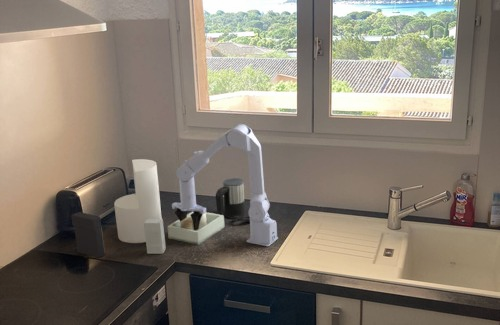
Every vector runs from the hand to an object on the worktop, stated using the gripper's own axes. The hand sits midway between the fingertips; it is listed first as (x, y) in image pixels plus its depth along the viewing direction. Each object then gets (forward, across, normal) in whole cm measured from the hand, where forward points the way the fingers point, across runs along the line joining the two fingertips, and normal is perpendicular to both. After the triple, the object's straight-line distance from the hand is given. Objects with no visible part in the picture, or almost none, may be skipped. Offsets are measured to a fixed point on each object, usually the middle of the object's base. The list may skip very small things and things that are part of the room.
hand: (190, 228), depth 206 cm
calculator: (+4, -25, -28) cm, 37 cm away
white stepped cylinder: (+4, -20, -6) cm, 21 cm away
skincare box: (+4, -4, -16) cm, 17 cm away
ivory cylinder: (+3, 0, +7) cm, 7 cm away
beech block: (+2, 0, 0) cm, 2 cm away
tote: (+3, 0, +4) cm, 5 cm away
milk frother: (+4, +7, +24) cm, 25 cm away
